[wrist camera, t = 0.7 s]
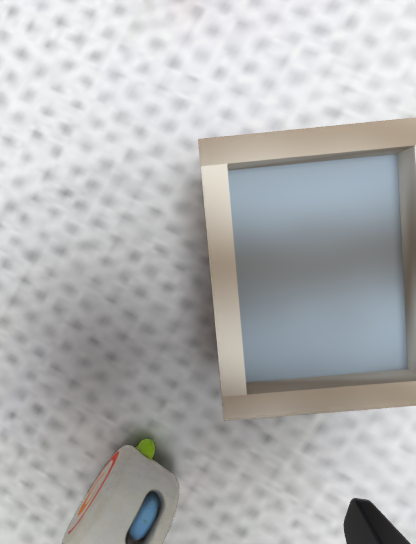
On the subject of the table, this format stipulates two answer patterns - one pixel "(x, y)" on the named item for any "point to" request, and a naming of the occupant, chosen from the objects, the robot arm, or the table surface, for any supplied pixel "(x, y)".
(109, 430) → the table surface
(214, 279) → the open square bin
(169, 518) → the roller toy
